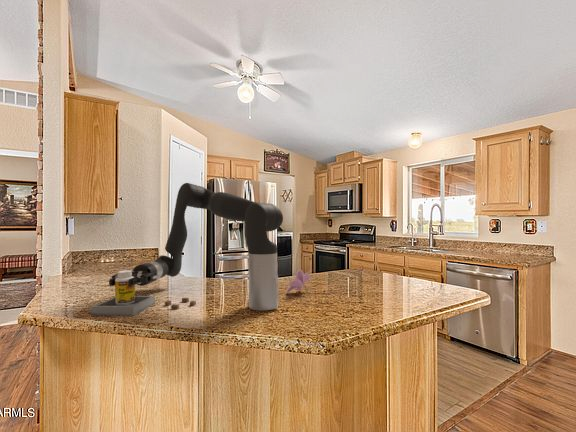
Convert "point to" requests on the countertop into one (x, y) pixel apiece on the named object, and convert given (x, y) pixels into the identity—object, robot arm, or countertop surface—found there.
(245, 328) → the countertop surface
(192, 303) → the set of brown cubes
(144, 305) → the tray
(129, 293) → the supplement bottle
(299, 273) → the lily
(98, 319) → the countertop surface
